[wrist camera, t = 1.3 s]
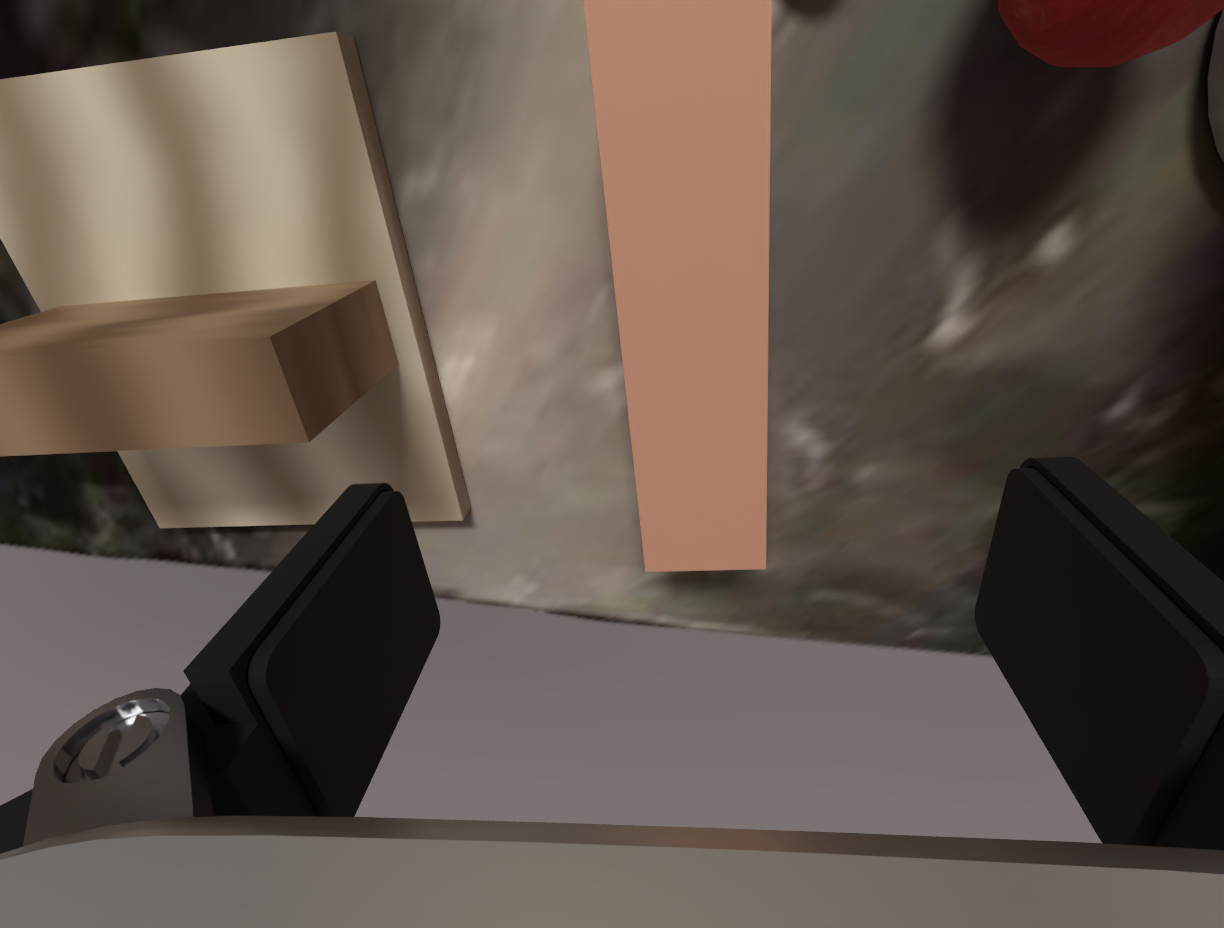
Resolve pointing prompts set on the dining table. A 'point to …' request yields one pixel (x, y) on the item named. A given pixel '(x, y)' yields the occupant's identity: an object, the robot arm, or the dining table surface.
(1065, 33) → the onion
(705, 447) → the beam
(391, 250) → the stand
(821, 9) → the dining table surface
